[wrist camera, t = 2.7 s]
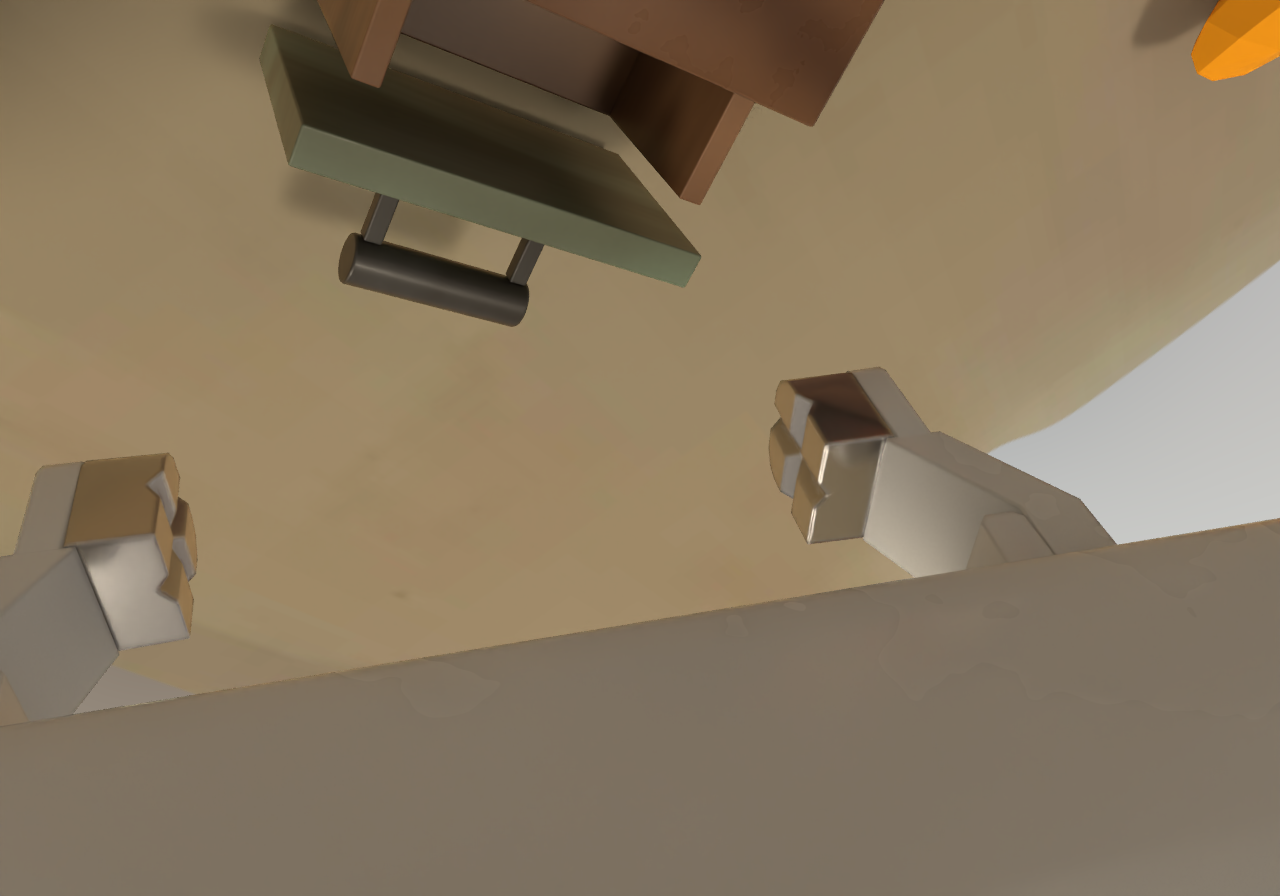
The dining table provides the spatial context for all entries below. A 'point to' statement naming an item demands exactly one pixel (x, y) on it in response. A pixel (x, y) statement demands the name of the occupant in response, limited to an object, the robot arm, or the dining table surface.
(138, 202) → the dining table surface
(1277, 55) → the corn
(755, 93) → the cabinet
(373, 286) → the drawer
